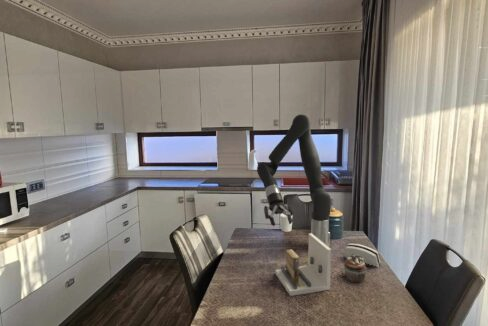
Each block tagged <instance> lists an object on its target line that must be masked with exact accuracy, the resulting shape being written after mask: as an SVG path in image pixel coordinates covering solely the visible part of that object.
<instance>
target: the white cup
mask: <svg viewBox="0 0 488 326" xmlns="http://www.w3.org/2000/svg"><path fill="white" fill-rule="evenodd" d="M279 215H280V216H279V219H280V230H281V231H282V232H284V233H285V232H286V233H288V232H289V233H290V232H291V231H292V227H293V222H292V223H291V224H289V221H288V218H287V216H286V215H284V214H283V213H282V214H279ZM293 215H294V214H293ZM293 215H292V216H291V218H292V219H293Z"/></svg>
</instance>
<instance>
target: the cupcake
mask: <svg viewBox="0 0 488 326" xmlns="http://www.w3.org/2000/svg"><path fill="white" fill-rule="evenodd" d="M363 260H364V258H362V256H355V255H354V254H352V255H351V256H349V257H348V258H345V261H344V272H345V276H346V278H347V279H348V280H349V281H352V282H357V283H360V282H363V281H365V277H366V275H367V274H366V273H367V270H368V267H367V266H366V264H365V263H364V261H363Z"/></svg>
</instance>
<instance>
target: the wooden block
mask: <svg viewBox="0 0 488 326" xmlns="http://www.w3.org/2000/svg"><path fill="white" fill-rule="evenodd" d="M299 267H300V256H299V255H298V254H297V253H296V252H295V251H294V250H293V249H286V250H285V268H286V271H287V272H288V274H289V275H290V276H291V278H292V279H299Z"/></svg>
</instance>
